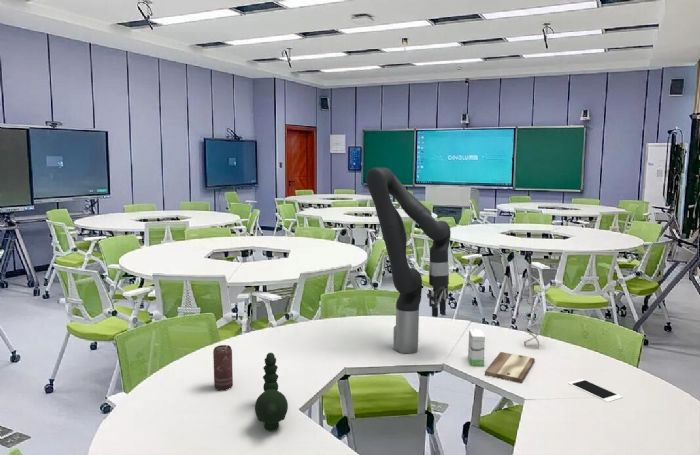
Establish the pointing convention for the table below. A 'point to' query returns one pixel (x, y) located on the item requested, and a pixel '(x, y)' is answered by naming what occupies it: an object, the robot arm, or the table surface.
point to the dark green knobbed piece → (271, 398)
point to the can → (223, 367)
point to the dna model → (534, 310)
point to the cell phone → (595, 390)
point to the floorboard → (510, 367)
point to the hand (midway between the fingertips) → (438, 313)
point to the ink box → (476, 347)
